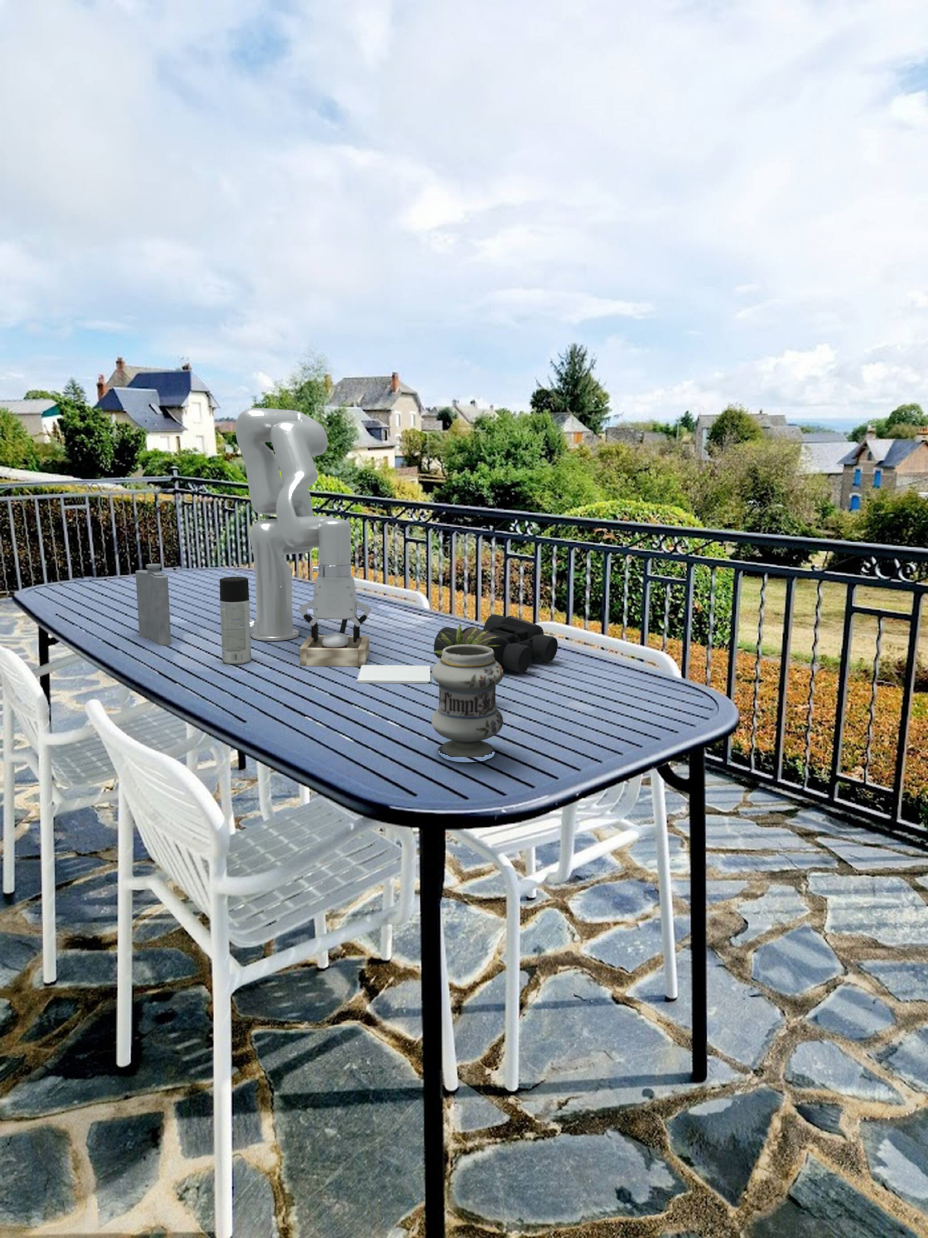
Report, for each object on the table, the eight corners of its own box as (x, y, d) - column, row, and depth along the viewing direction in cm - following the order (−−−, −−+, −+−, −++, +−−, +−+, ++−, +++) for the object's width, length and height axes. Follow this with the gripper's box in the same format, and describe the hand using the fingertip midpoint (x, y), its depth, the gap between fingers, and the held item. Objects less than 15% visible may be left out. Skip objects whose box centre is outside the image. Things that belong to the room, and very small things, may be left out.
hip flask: (137, 635, 215) (133, 561, 211) (152, 633, 217) (148, 560, 213) (161, 646, 203) (156, 568, 199) (176, 643, 206) (172, 567, 202)
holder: (299, 665, 187) (299, 649, 186) (309, 650, 202) (308, 635, 201) (364, 666, 188) (364, 650, 187) (369, 651, 203) (369, 635, 202)
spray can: (257, 660, 192) (254, 577, 188) (238, 666, 186) (235, 581, 182) (235, 656, 194) (232, 575, 190) (216, 662, 188) (212, 578, 184)
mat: (357, 682, 174) (356, 680, 174) (361, 667, 187) (361, 665, 187) (430, 683, 175) (430, 681, 175) (430, 668, 188) (430, 665, 188)
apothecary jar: (443, 736, 142) (445, 638, 139) (509, 745, 139) (513, 644, 135) (420, 760, 131) (422, 654, 127) (491, 770, 127) (495, 661, 124)
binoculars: (497, 644, 212) (500, 608, 210) (565, 663, 201) (569, 624, 198) (431, 665, 189) (434, 625, 187) (503, 688, 178) (508, 645, 175)
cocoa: (324, 664, 190) (322, 616, 187) (313, 658, 195) (311, 610, 192) (360, 658, 196) (358, 610, 192) (348, 652, 200) (347, 605, 197)
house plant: (470, 719, 152) (473, 636, 148) (411, 706, 159) (412, 626, 156) (507, 701, 164) (510, 623, 160) (450, 690, 171) (452, 615, 167)
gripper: (296, 573, 187) (297, 644, 190) (370, 574, 188) (370, 645, 191) (301, 568, 194) (302, 637, 197) (372, 569, 195) (372, 638, 198)
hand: (335, 641), depth 194 cm, fingers open, 9 cm apart
